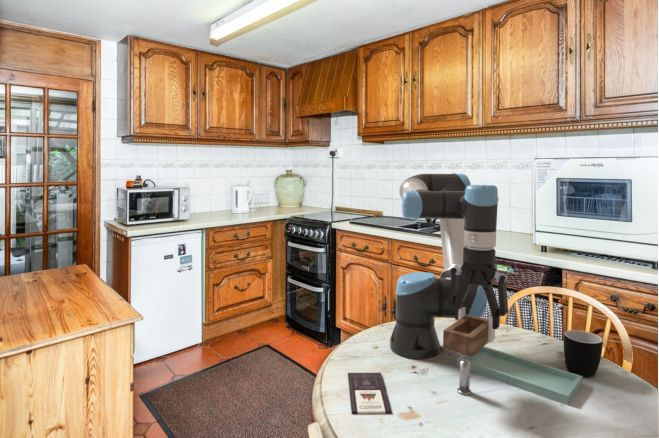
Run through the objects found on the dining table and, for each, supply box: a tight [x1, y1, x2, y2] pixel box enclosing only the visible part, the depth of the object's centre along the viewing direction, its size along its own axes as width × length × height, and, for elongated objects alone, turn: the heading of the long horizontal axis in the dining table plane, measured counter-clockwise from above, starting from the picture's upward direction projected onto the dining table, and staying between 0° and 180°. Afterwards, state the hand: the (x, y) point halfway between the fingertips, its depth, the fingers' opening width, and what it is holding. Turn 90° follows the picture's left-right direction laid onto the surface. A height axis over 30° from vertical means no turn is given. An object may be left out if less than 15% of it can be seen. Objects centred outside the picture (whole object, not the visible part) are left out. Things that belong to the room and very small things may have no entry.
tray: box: [456, 345, 584, 406], centre depth 110 cm, size 28×13×2 cm, turn 45°
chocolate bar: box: [347, 372, 392, 415], centre depth 102 cm, size 9×1×18 cm
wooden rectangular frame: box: [442, 315, 489, 357], centre depth 100 cm, size 7×16×4 cm, turn 139°
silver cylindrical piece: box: [457, 359, 472, 396], centre depth 101 cm, size 3×3×8 cm
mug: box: [563, 329, 604, 378], centre depth 112 cm, size 12×9×10 cm
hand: (475, 336), depth 103 cm, fingers closed on wooden rectangular frame, 7 cm apart
